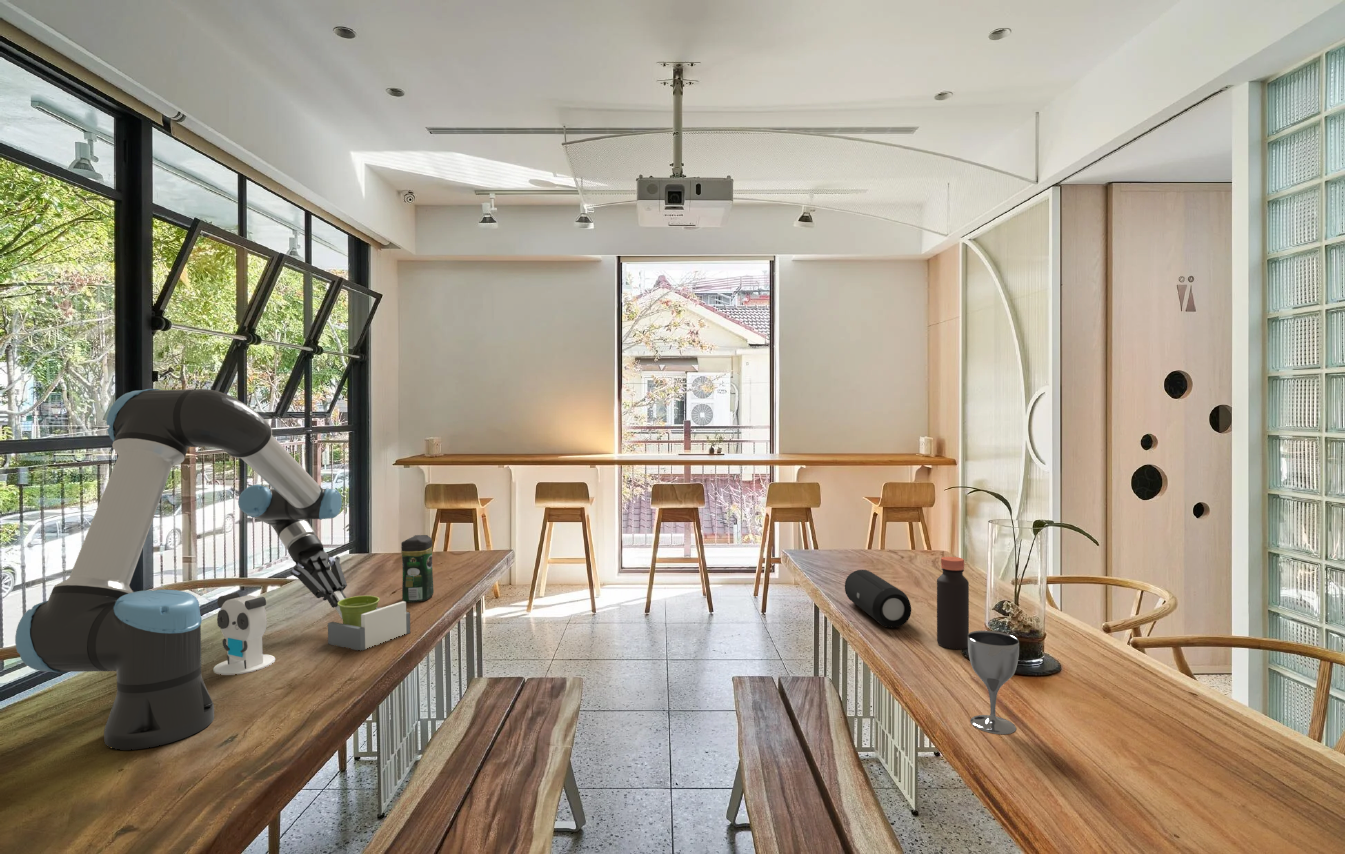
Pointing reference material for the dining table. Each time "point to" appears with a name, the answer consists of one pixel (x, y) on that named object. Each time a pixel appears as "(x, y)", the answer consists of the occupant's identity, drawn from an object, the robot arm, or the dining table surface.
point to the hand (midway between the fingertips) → (347, 614)
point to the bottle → (952, 605)
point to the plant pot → (356, 608)
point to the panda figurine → (242, 634)
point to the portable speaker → (878, 598)
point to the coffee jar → (417, 568)
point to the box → (371, 628)
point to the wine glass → (993, 672)
